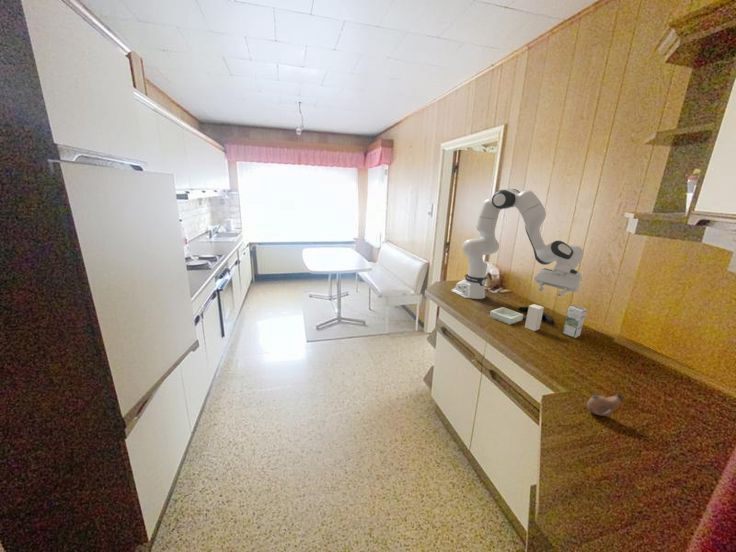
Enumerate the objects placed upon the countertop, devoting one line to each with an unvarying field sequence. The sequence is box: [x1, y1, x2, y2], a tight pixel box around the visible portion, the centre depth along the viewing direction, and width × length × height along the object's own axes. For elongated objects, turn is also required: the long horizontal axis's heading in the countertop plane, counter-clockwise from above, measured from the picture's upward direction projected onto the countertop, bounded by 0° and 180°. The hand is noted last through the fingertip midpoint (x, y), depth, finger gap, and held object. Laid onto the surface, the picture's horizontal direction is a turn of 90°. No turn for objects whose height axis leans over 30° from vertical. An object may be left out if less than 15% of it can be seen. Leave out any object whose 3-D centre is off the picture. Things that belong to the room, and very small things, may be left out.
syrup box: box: [562, 304, 587, 339], centre depth 139 cm, size 6×6×14 cm
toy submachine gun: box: [518, 306, 555, 325], centre depth 161 cm, size 3×20×16 cm
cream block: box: [524, 303, 545, 332], centre depth 145 cm, size 5×5×12 cm
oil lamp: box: [586, 393, 624, 417], centre depth 88 cm, size 9×4×8 cm, turn 81°
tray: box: [489, 306, 524, 326], centre depth 157 cm, size 12×12×4 cm
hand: (549, 292), depth 147 cm, fingers open, 8 cm apart
